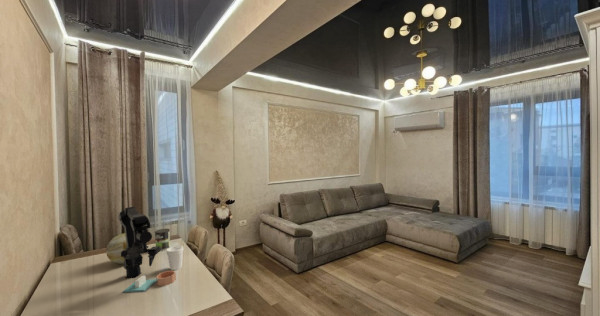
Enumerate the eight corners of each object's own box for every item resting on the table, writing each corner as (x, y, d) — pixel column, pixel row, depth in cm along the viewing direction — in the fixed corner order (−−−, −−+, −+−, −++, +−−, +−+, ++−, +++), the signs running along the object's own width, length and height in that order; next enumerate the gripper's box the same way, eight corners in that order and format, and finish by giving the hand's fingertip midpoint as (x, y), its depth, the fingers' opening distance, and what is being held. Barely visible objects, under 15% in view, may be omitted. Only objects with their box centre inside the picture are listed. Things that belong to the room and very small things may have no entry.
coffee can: (164, 251, 190) (163, 232, 190) (152, 250, 192) (151, 232, 192) (173, 246, 200) (172, 228, 200) (162, 245, 202) (161, 228, 202)
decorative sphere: (142, 263, 170) (141, 234, 169) (105, 272, 158) (104, 240, 158) (141, 254, 186) (140, 227, 185) (108, 261, 175) (106, 233, 174)
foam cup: (177, 272, 153) (176, 251, 153) (164, 271, 155) (163, 251, 155) (187, 265, 163) (186, 245, 162) (175, 265, 164) (173, 245, 164)
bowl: (153, 286, 137) (153, 278, 137) (162, 278, 146) (162, 271, 146) (170, 286, 137) (169, 278, 137) (178, 278, 146) (177, 270, 146)
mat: (120, 294, 131) (120, 293, 131) (137, 281, 144) (137, 280, 144) (145, 293, 131) (145, 292, 131) (159, 280, 144) (159, 279, 144)
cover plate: (123, 291, 132) (123, 283, 132) (137, 281, 143) (137, 273, 143) (144, 291, 132) (144, 283, 132) (156, 280, 143) (156, 273, 143)
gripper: (112, 245, 129) (114, 274, 130) (149, 243, 130) (151, 272, 131) (126, 237, 141) (128, 265, 141) (160, 236, 141) (161, 263, 142)
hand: (141, 266), depth 138 cm, fingers open, 9 cm apart
